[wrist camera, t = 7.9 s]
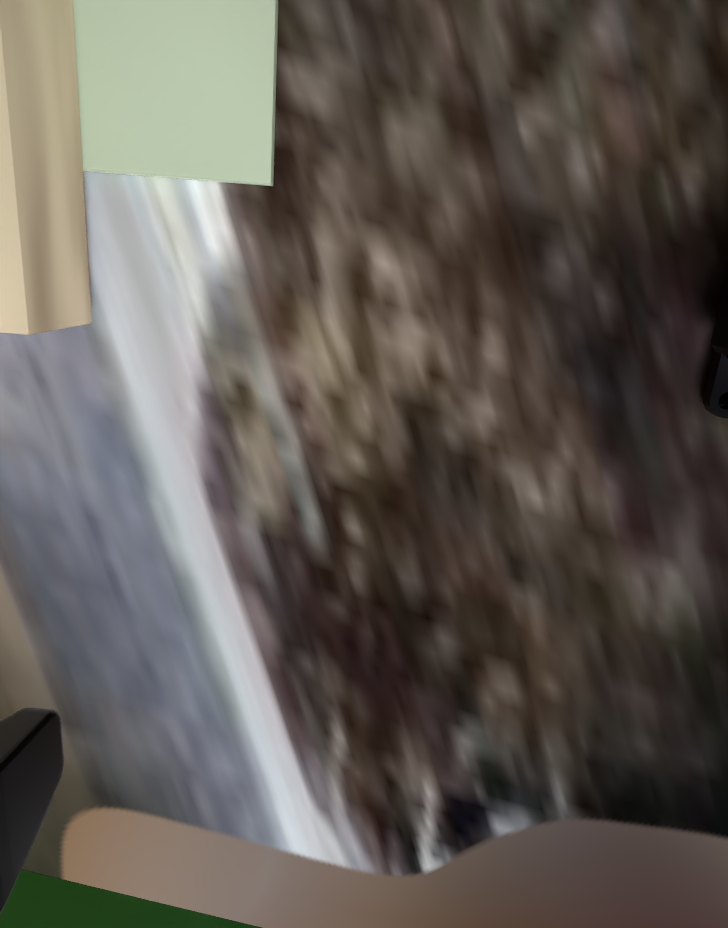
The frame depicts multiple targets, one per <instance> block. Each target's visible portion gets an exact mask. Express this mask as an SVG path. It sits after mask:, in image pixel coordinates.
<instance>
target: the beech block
mask: <svg viewBox="0 0 728 928" xmlns="http://www.w3.org/2000/svg"><path fill="white" fill-rule="evenodd" d="M90 323H92V317H91V300H90V283H89V267H88V250H87V233H86V217H85V200H84V183H83V167H82V150H81V133H80V117H79V100H78V83H77V67H76V50H75V34H74V17H73V0H0V332H3V333H14V334H26V335H30V334H36V333H41V332H47V331H52V330H58V329H63V328H69V327H74V326H79V325H85V324H90Z"/></svg>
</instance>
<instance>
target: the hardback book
mask: <svg viewBox="0 0 728 928" xmlns="http://www.w3.org/2000/svg"><path fill="white" fill-rule="evenodd" d="M0 928H261V927H257V926H252V925H248V924H244V923H240V922H236V921H232V920H228V919H223V918H219V917H215V916H211V915H207V914H202V913H199V912H195V911H191V910H186V909H182V908H178V907H174V906H170V905H166V904H161V903H157V902H153V901H149V900H145V899H141V898H136V897H133V896H129V895H124V894H120V893H116V892H112V891H108V890H104V889H100V888H95V887H91V886H87V885H83V884H79V883H75V882H71V881H67V880H62V879H58V878H54V877H50V876H46V875H42V874H38V873H33V872H29V871H25V870H21V871H20V873H19V876H18V878H17V880H16V883H15V885H14V887H13V889H12V891H11V893H10V896H9V898H8V900H7V902H6V904H5V906H4V908H3V910H2V912H1V914H0Z"/></svg>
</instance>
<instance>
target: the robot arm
mask: <svg viewBox="0 0 728 928" xmlns="http://www.w3.org/2000/svg"><path fill="white" fill-rule="evenodd" d="M711 344H712V346H713V347H714V349H715V352H714V356H713V360H712V364H711V368H710V372H709V376H708V380H707V384H706V388H705V392H704V396H703V404H704V406H705V409H706V410H707V411H709V412H710V413H711V414H714V415H716V416H718V417H722V418H728V402H727V403H726V404H725V405H724V406H719V398H720V397H721V395H723V394H724V393H727V392H728V275H727V279H726V283H725V287H724V291H723V295H722V299H721V304H720V308H719V312H718V316H717V320H716V324H715V328H714V332H713V336H712V340H711ZM63 764H64V757H63V745H62V733H61V721H60V716H59V714H58V713H57V712H56V711H54V710H48V709H37V708H25V709H22V710H20V711H18V712H16V713H15V714H13V715H11V716H9V717H8V718H6V719H4V720H3V721H1V722H0V914H1V912H2V910H3V908H4V906H5V904H6V902H7V900H8V898H9V896H10V893H11V891H12V889H13V887H14V885H15V883H16V880H17V878H18V876H19V873H20V871H21V869H22V866H23V864H24V862H25V859H26V857H27V855H28V853H29V850H30V848H31V846H32V843H33V841H34V839H35V836H36V834H37V832H38V829H39V827H40V825H41V823H42V820H43V818H44V816H45V813H46V811H47V809H48V806H49V804H50V802H51V800H52V797H53V795H54V793H55V790H56V788H57V786H58V783H59V781H60V778H61V775H62V771H63Z"/></svg>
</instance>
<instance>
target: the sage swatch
mask: <svg viewBox="0 0 728 928" xmlns="http://www.w3.org/2000/svg"><path fill="white" fill-rule="evenodd" d="M73 17H74V34H75V50H76V67H77V83H78V100H79V117H80V133H81V150H82V167H83V171H87V172H100V173H112V174H125V175H138V176H151V177H163V178H176V179H189V180H202V181H214V182H227V183H240V184H252V185H265V186H273V174H274V138H275V101H276V65H277V29H278V0H73Z"/></svg>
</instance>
